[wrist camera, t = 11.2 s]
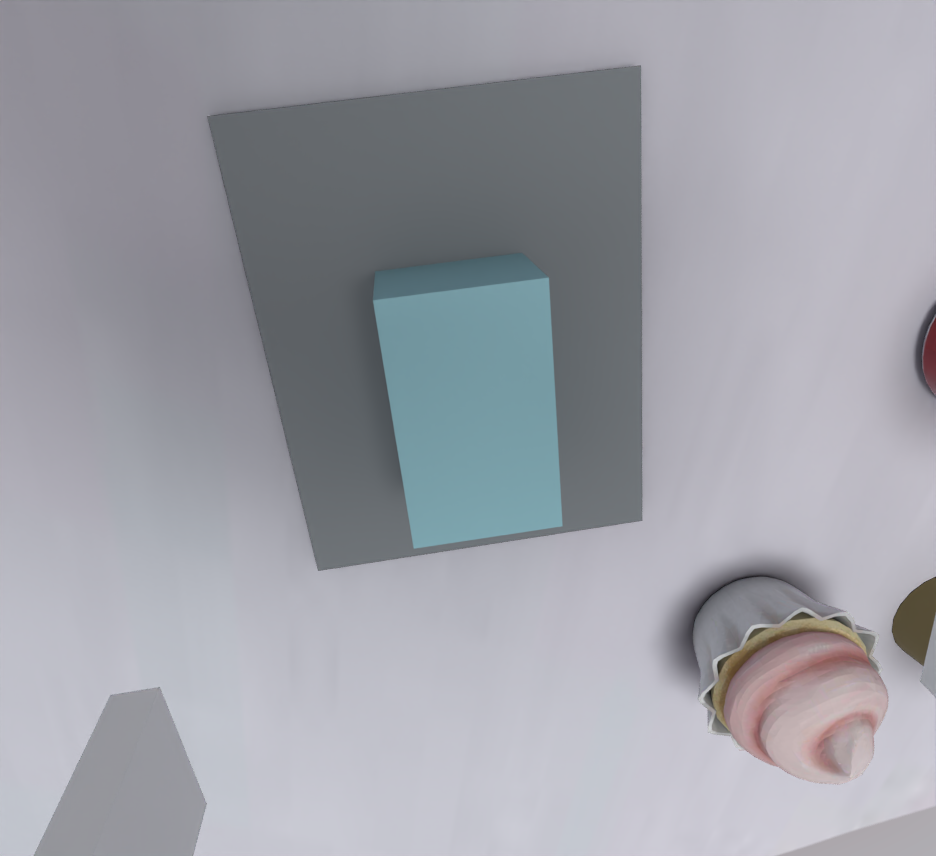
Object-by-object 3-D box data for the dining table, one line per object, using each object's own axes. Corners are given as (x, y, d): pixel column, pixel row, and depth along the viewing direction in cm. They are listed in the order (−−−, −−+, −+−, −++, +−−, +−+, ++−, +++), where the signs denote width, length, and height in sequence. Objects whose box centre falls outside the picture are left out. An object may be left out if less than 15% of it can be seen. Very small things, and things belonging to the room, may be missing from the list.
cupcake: (721, 527, 35) (837, 667, 26) (857, 578, 38) (1007, 723, 28) (631, 660, 38) (708, 828, 29) (763, 700, 41) (872, 866, 32)
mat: (211, 116, 25) (207, 116, 24) (635, 66, 26) (640, 65, 25) (319, 563, 33) (318, 570, 33) (638, 514, 34) (642, 520, 34)
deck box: (408, 487, 31) (412, 548, 27) (373, 271, 27) (371, 300, 23) (538, 469, 32) (563, 526, 27) (523, 252, 28) (550, 277, 23)
